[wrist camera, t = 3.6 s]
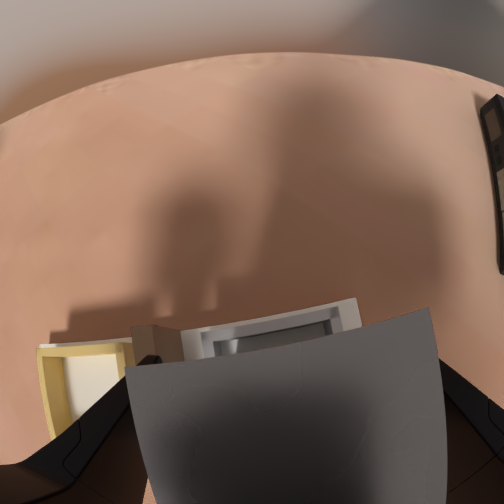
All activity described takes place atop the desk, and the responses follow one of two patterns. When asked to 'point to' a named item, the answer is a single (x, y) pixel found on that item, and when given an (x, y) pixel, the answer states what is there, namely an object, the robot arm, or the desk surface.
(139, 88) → the desk surface
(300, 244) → the desk surface
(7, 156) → the desk surface
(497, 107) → the portable cd player
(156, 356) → the robot arm
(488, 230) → the desk surface
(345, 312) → the board
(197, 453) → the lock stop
